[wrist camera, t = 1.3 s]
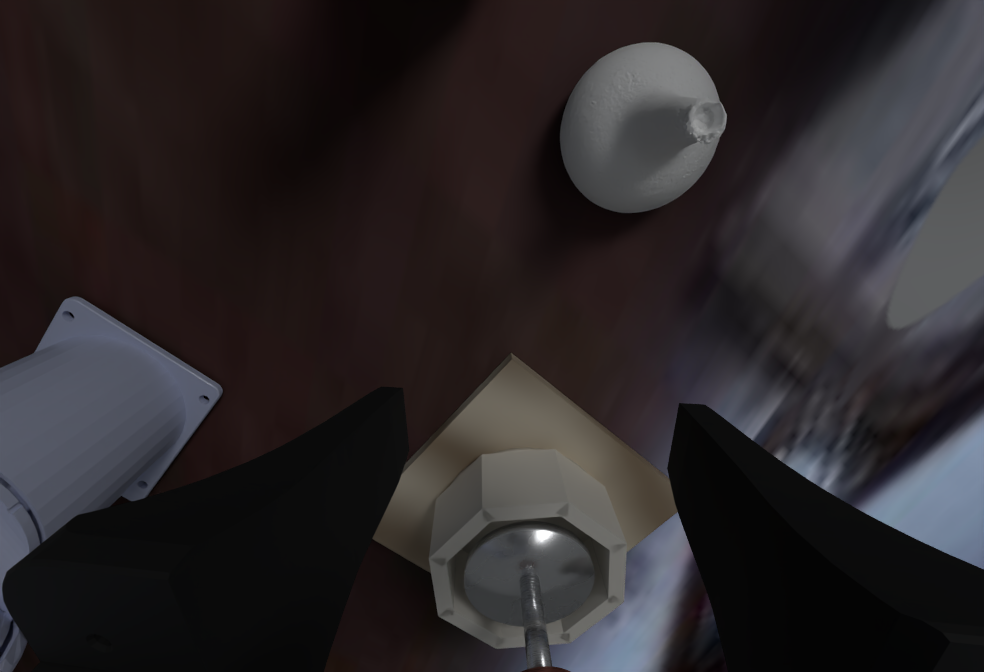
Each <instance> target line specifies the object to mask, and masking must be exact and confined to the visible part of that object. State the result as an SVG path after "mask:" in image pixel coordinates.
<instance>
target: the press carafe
mask: <svg viewBox="0 0 984 672" xmlns="http://www.w3.org/2000/svg"><path fill="white" fill-rule="evenodd" d="M523 521H541V522H547V523H552V524H555V525H559V526H561V527H563V528H566V529H568V530H569V531H571V532H573V533H574V534H575V535H576V536H578V537H579V538H580V539H581V540H582V541H583V542H584V544H585V545H586V547H587V549H588V551H589V553H590V556H591V560H592V563H593V567H594V573H595V578H594V584H593V588H592V590H591V592H590V595H589V596H588V598H587V599H586V601H585V602H584V603H583V604H582V605H581V606H580V607H579V608H578V609H577V610H575V611H574V612H572V613H571V614H570V615H568V616H566V617H564V618H562V619H560V620H557V621H555V622H552V623H548V624H546V628H547V635H548V642H549V645H553V644H566V643H571V642H572V641H573V640H575V639H576V638H577V637H579V636H580V635H581V634H583V633H584V632H585V631H587V630H588V629H589V628H591V627H592V626H593V625H594V624H596V623H597V622H598V621H600V620H601V619H602V618H604V617H605V616H606V615H608V614H609V613H610V612H612V611H613V610H614V609H616V608H617V607H618V606H619V605H621V604H622V603H623V602H624V590H625V570H626V551H627V543H626V540H625V537H624V535H623V532H622V530H621V527H620V524H619V522H618V519H617V517H616V514H615V511H614V509H613V506H612V504H611V501H610V498H609V496H608V493H607V491H606V488H605V486H604V485H602V484H601V483H600V482H598V481H597V480H596V479H594V478H593V477H592V476H590V475H589V474H588V473H587V472H586V471H585V470H584V469H583V468H582V467H581V466H579V465H578V464H577V463H576V462H574V461H572V460H571V459H569V458H567V457H565V456H563V455H562V454H561V453H559V452H558V451H557V450H555V449H546V450H545V449H540V448H530V447H524V448H511V449H505V450H501V451H497V452H494V453H491V454H482V455H481V456H480V457H479V458H478V459H477V460H476V461H474V462H473V463H471V464H470V465H468V466H467V467H466V468H465V469H464V470H462V471H461V472H460V473H459V474H458V475H457V477H456V478H455V479H454V480H453V482H452V483H451V485H450V486H449V487H448V488H447V489H446V490H445V491H444V492H443V493H442V494H441V495H440V496H439V497H438V498H437V499H436V504H435V512H434V521H433V529H432V537H431V545H430V553H429V563H430V569H431V575H432V581H433V588H434V594H435V600H436V606H437V612H438V616H439V617H440V618H442V619H444V620H446V621H448V622H449V623H451V624H453V625H455V626H457V627H458V628H460V629H462V630H464V631H465V632H467V633H469V634H471V635H473V636H474V637H476V638H478V639H480V640H481V641H483V642H485V643H487V644H489V645H490V646H492V647H494V648H496V649H500V648H513V647H525V637H524V627H522V626H512V625H507V624H503V623H499V622H497V621H494V620H492V619H490V618H488V617H486V616H485V615H483V614H482V613H480V612H479V611H478V610H477V609H476V608H475V607H474V606H473V605H472V604H471V602H470V600H469V599H468V597H467V594H466V592H465V587H464V568H465V562H466V559H467V556H468V554H469V552H470V551H471V549H472V548H473V546H474V545H475V544H476V543H477V542H478V541H479V540H480V539H481V538H482V537H484V536H485V535H486V534H488V533H490V532H491V531H493V530H495V529H497V528H499V527H502V526H505V525H508V524H512V523H516V522H523Z"/></svg>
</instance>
